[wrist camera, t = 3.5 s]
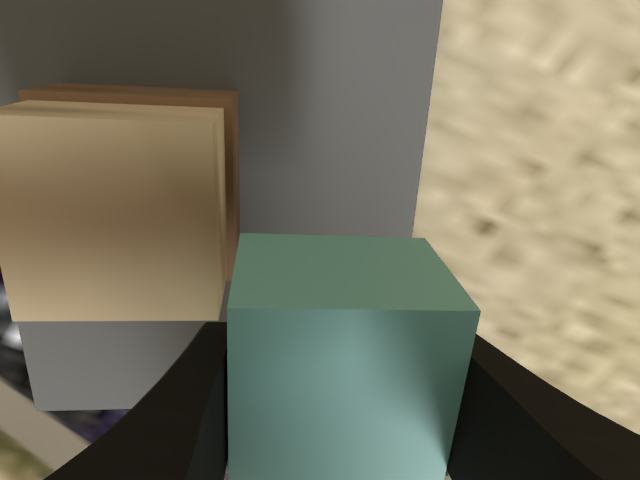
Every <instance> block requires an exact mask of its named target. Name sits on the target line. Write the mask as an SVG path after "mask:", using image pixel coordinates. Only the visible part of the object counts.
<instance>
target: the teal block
mask: <svg viewBox="0 0 640 480" xmlns="http://www.w3.org/2000/svg"><path fill="white" fill-rule="evenodd" d="M480 312H481V311H480V309H479V308H478V307H477V305H476V304H475V303H474V301H473V300H472V299H471V298H470V296H469V295H468V294H467V292H466V291H465V290H464V288H463V287H462V286H461V285H460V283H459V282H458V281H457V279H456V278H455V277H454V275H453V274H452V273H451V272H450V270H449V269H448V268H447V266H446V265H445V264H444V262H443V261H442V260H441V259H440V257H439V256H438V255H437V253H436V252H435V251H434V250H433V248H432V247H431V246H430V244H429V243H428V242H427V240H426V239H425V238H406V237H369V236H333V235H297V234H261V233H240V237H239V242H238V248H237V254H236V259H235V265H234V271H233V276H232V282H231V288H230V293H229V299H228V305H227V373H228V480H444V478H445V473H446V469H447V464H448V460H449V455H450V450H451V446H452V441H453V437H454V432H455V427H456V423H457V418H458V414H459V409H460V404H461V400H462V395H463V391H464V386H465V381H466V377H467V372H468V368H469V363H470V358H471V354H472V349H473V345H474V340H475V335H476V331H477V326H478V322H479V317H480Z"/></svg>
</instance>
